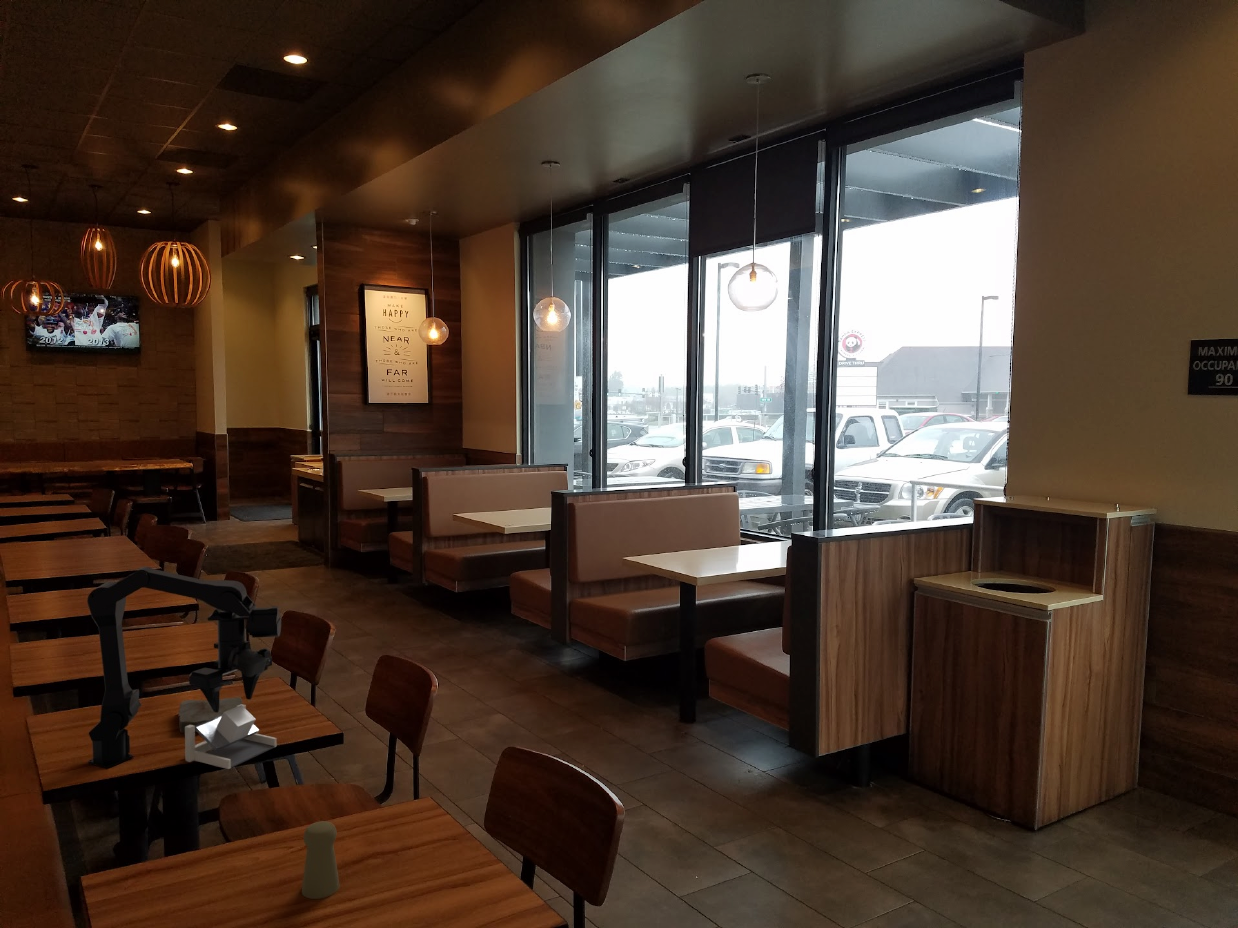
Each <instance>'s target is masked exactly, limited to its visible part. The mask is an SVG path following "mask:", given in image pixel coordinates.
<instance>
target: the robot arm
mask: <svg viewBox="0 0 1238 928" xmlns="http://www.w3.org/2000/svg"><path fill="white" fill-rule="evenodd" d="M143 588H145V589H149V590H154V591H158V592H164V593H169V594H173V595H177V596H182V597H187V598H191V599H196V600H199V601H201V602H203V603H205V604H206V605H208V606H210V607H213V608H215V609H214V610H213V612H212V613H211V614H210V615H209V616H208V617H207V619H206V620H207V621H210V622H211V621H213V622H214V621H217V622H216V623H217V642H214V643H213V648H214V649H217V657H218V658H217V660H215V661H213V666H214V667H218V668H216V669H214V668H211V667H209V668H208V667H202V668H200V669H197V670H196V669H195V670H193V671H192V672H191V673H190V674H189V675H188V681H189V682H188V683H189V684H188V685H190V686H194V687H195V688H199V690H200V691H201V692H202V694H203V696H204V698H205V699H206V701H208V702H209V704H210V706H211V708H212V709H213V711H214V712H216V713H217V712H219V700H220V690H221V689H222V688H223V686H224V683H222V681H223V679H224V678H223V677H224V676H228V675H230V674H233V673H235V672H238V671H239V672H240V673H241V678H242V679H241V680H242V684H243V689H244V690H243V691H244V695H245V698H246V700H251V699H252V698H253V695H254V693H255V692H254V691H255V689H256V686H257V683H258V680H259V678H260V676H261V675H262V674H264V672H266V671H267V670H268V669H269V667H272V666H273V656H272V653H271V649H269V648H268V647H264V648H261V649H260V650H256V649H255V650H252V648H251V642H250V641H247V640H246V634H248V635H249V636H251V637H252V639H253V638H254V639H255V638H278V637H280V636H281V630H282V618H281V613H280V611H279V610H280V608H279V606H277V605H274V606H269V607H268V606H267V607H257V605H256V603H255V602H254V601H253V600H252V598H250V596H249V595H248V594H247V589H246V586H245V585H244V584H243V583H242V582H240V581H237V580H229V579H227V580H225V579H224V580H223V579H215V580H208V579H205V580H204V579H200V578H196V577H191V576H186V575H181V574H178V573H173V572H167V571H164V570H160V569H154V568H152V567H151V566H143V567H140V568H138V569H137V570H135V571H134V572H133V573H131V574H129V575H127V576H125V577H124V578H121V579H119V580H118V581H112V580H110V581H106V582H105V583H103V584H100V585H99V586H98V587H96V588H94V589H93V590H92V591H91V592H90V593H89V594H88V595H87V599H86V600H87V601H86V603H87V605H88V609H89V613H90V616H91V618H92V620H93V621H94V624H96V626H97V627H98V628H97V629H98V633H99V634H98V635H99V644H100V653H101V654H100V655H101V663H102V672H103V681H104V694H103V697H102V702H101V709H100V716H99V717H100V718H99V719H100V720H99V721H98V723H97V724H95V726H94V727H93V728H91V730H90V731H89V732H88V736H89V738H90V740H91V742H92V743H91V744H92V758H91V759H88V761H87V763H88V764H90V765H94V766H98V767H100V768H101V767H102V768H106V769H108V768H111V767H114V766H116V765H119V764H121V763H124V762H126V761H129V760H131V759H134V755H133V754H130V752H131V743H130V742H131V740H130V739H131V738H130V735H129V730H128V729H126V727H127V726H129V724H130V722H131V721H133V719H134V718H135V717H136V716H137V714H138V712H139V708H141V706H142V704H141V702H140V697H139V696H140V690H139V689H140V688H137V689H132V688H131V686H130V684H129V680H128V671H127V661H126V653H125V641H124V632H123V631H124V630H123V625H122V624H123V618H124V613H125V610H126V602H127V597H128V596H130V595H132V594H133V593H135V592H136V591H138V590H140V589H143ZM246 632H247V633H246Z"/></svg>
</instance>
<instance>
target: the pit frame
mask: <svg viewBox="0 0 1238 928" xmlns="http://www.w3.org/2000/svg"><path fill="white" fill-rule="evenodd" d="M241 705H242V706H243V707H244V708H245V709H246V710H247V705H246V704H243V703H242V704H241ZM238 706H240V705H238ZM238 706H237V707H238ZM277 739H278V738H277V737H273V736H269V735H264V734H260V733H256V734H254V735H251V736H249V737H247V738H245V739H242V740H240V741H238V742H236V743H233V744H231V745H229V746H227V747H224V748H222V749H220V750H218V751H215V750H214V749H213V748H212V747H211V746H210V745H209V744H208V743H207V742H206V741H205V740H204V741H202V742H199V743H197V744H196V732H195V726H194V725H188V726H186V727H185V732H184V743H185V744H184V747H185V748H184V757H185V762H189V763H191V762H193V761H195V762H199V763H203V764H208V765H211V766H214V767H218V768H223V769H226V770H229V769H232V768H235V767H237V766H238V765H241V764H243V763H245V762H247V761H249V760H252V759H254V758H255V757H257V756H260V755H262V754H264V753H266V752H268V751H270V750H272V749H274V748H276V747H277V745H278V743H277Z"/></svg>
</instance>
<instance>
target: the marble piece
mask: <svg viewBox="0 0 1238 928" xmlns="http://www.w3.org/2000/svg"><path fill="white" fill-rule="evenodd" d="M241 704H243V699H242V698H241V696H237V697H233V698H232V697H227V698H226V697H225V698H223V699H219V712H217V713H216V712H214V711H213V709H212V708H211V706H210V704H209V702H208V701H207V700H201V699H186V700H182V701H181V703H180V704H179V707H178V708H179V710H178V715H177V716H178V717H177V718H179V723H178V725H179V731H180V733H181V734H183V733H184V734H185V727H186V726H188V725H194V726H196V725H199V724H201V723H203V722H206V721H208V720H211V719H213V718H216V717H218V716H221V715H223V713H224V712H225V711H228V710H230V709H233V708H235V707H237V706H238V705H241ZM195 733H197V732H196V730H195Z"/></svg>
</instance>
